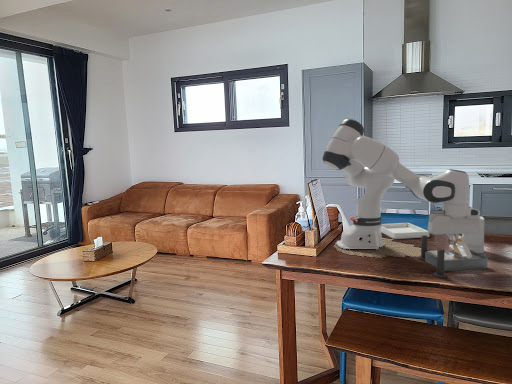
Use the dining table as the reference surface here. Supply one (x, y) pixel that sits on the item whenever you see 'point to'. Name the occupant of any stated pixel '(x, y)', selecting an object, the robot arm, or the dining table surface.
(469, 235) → the skincare box
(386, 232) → the tray
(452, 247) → the paddle
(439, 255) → the cord posts
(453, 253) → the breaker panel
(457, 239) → the paddle amber
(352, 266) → the dining table surface
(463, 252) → the paddle
